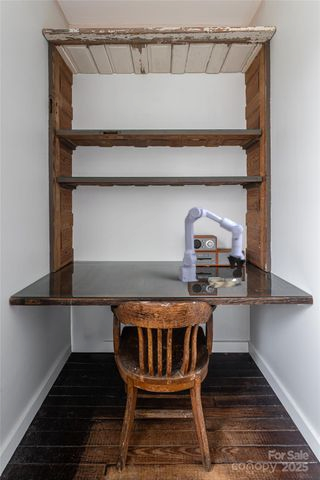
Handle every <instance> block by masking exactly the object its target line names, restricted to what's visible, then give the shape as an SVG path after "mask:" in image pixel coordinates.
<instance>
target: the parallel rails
mask: <svg viewBox="0 0 320 480" xmlns="http://www.w3.org/2000/svg"><path fill="white" fill-rule="evenodd" d="M225 279H226V278H224V279H221V280H209V282H208V285H209V286H213V288H216V289H217V288H228V287H229V288H231V287H232V286H233V287H235V286H236V285H235V282H234V281H233V282H224V280H225Z"/></svg>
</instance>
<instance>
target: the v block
mask: <svg viewBox="0 0 320 480" xmlns="http://www.w3.org/2000/svg"><path fill="white" fill-rule="evenodd" d="M221 279H225V278H224V277H223V278H222V276H216V277H215V276H212V277H207V283H209V280H221Z"/></svg>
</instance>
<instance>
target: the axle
mask: <svg viewBox="0 0 320 480" xmlns="http://www.w3.org/2000/svg"><path fill="white" fill-rule="evenodd" d="M224 279H225V280H224V282H233V281H234V282H235V286H241V285H242V284H243V281H242V280H243V279H242V277H229V278H228V277H226V278H224Z"/></svg>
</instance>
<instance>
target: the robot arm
mask: <svg viewBox="0 0 320 480" xmlns="http://www.w3.org/2000/svg"><path fill="white" fill-rule="evenodd" d="M201 218H208V219H210V220H212V221H214V222H215V223H217V224H219V227H220V228H222V229H224V230H225V231H227V232H229V233H231V235H232V236H231V251H229V252H228V256H227V261H228V262H229V267H230V270H235V269H236V272H239V273H241V272H242V269H243V267H244V264H245V263H246V262H247V261H246V259H245V258H246V256H245V255H244V253H243V232H244V228H243V226H242V225H240V224H238V222H234V221H232V220H230V218H229V217H223V218H222V217H220V216H218V215H217V214H215V213H214V212H212V211H211V210H209V209H206V208H203V207H201V206H194V207H192V208H190V209H189V210H188V213H187V215H186V216H185V218H184V240H185V241H184V242H185V243H184V244H185V246H184V247H185V251H184V253H183V258H182V263H183V265H181V266H179V275H178V276H179V277H178V280H180V281H181V282H182V283H186V282H189V283H190V282H198V281H199V279H197V278H196V277H197V275H196V273H197V272H196V271H197V270H196V269H197V268H196V267H197V264H196V262H197V260H198V258H197V254H196V250H195V239H194V238H195V233H194V223H195V222H197V220H199V219H201Z"/></svg>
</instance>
